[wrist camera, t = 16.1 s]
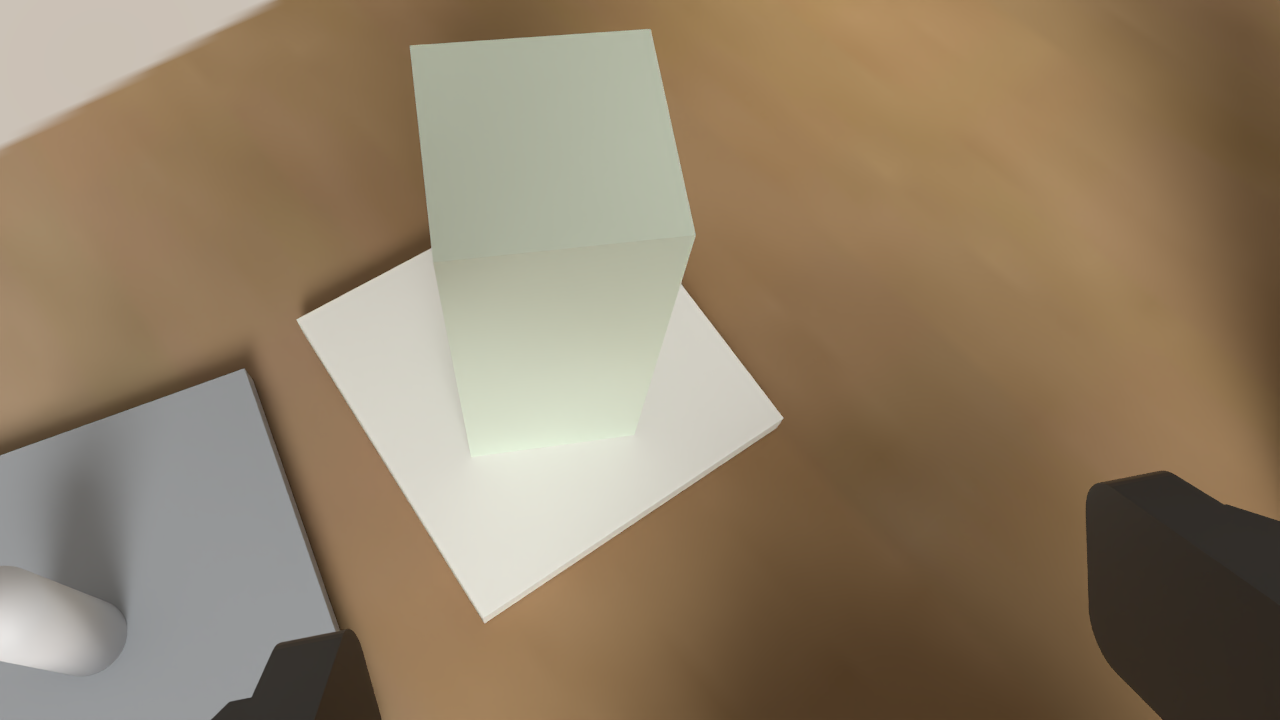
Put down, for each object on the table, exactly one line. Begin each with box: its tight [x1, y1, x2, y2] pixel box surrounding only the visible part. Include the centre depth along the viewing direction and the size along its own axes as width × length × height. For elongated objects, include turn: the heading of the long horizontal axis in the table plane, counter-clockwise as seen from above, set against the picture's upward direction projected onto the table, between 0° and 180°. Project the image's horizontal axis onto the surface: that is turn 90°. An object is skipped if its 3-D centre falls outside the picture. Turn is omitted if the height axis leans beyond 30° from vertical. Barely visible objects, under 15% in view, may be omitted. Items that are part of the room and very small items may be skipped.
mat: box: [296, 248, 783, 623], centre depth 31 cm, size 11×11×1 cm
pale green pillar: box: [410, 29, 696, 457], centre depth 25 cm, size 5×5×12 cm
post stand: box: [0, 368, 340, 720], centre depth 25 cm, size 12×12×6 cm
